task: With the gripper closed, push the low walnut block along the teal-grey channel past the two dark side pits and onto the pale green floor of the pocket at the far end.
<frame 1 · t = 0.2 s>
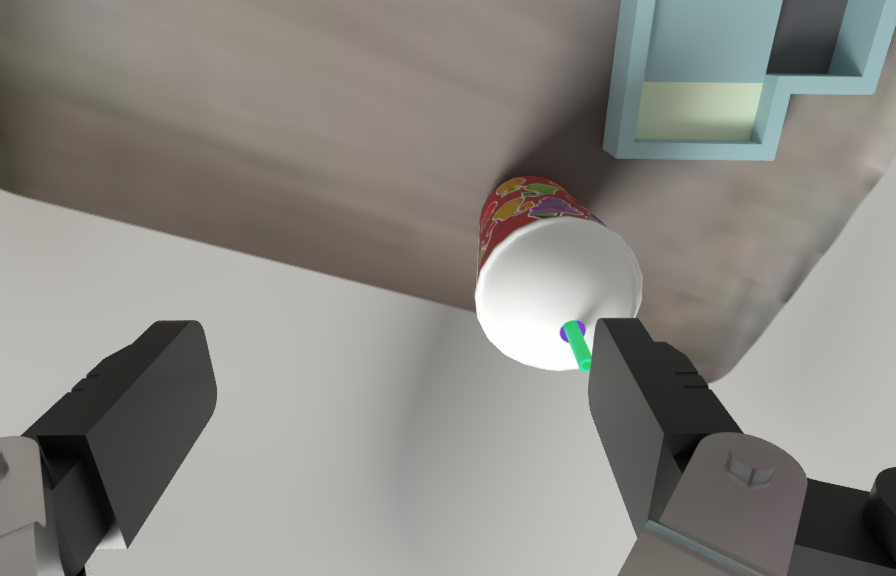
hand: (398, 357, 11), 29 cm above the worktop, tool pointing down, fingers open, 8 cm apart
smoothie: (524, 216, 40), on the worktop
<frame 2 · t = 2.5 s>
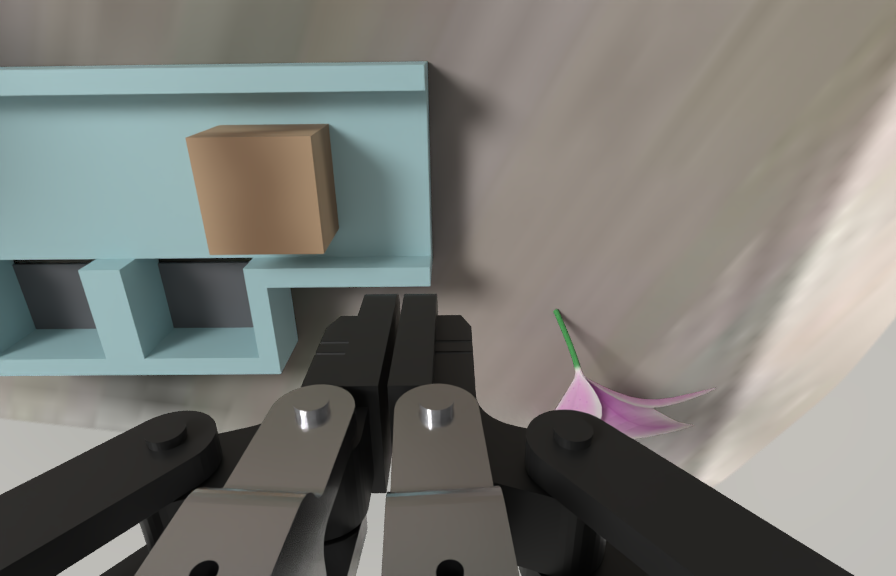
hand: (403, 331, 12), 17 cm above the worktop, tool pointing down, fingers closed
walnut block: (281, 178, 26), point 2 cm above the worktop, touching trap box
lily: (572, 367, 33), on the worktop
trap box: (155, 171, 28), on the worktop
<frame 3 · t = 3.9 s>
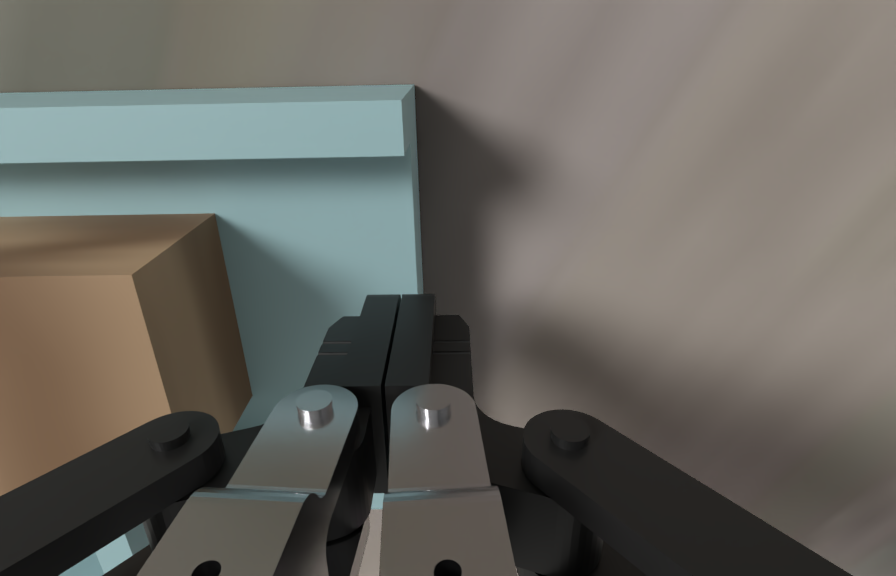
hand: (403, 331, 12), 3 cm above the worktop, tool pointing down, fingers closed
walnut block: (134, 312, 13), point 2 cm above the worktop, touching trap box
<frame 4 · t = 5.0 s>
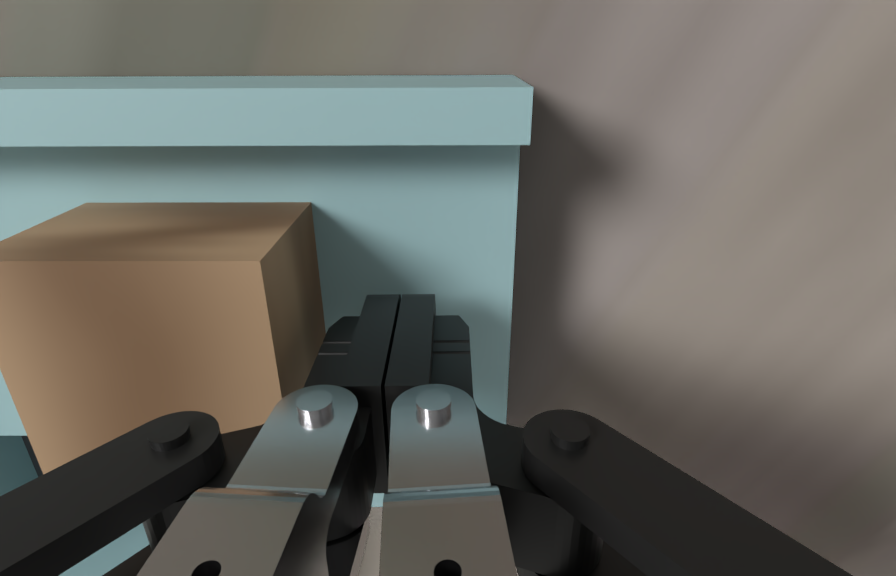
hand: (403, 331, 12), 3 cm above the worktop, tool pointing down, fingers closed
walnut block: (218, 303, 13), point 2 cm above the worktop, touching gripper, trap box
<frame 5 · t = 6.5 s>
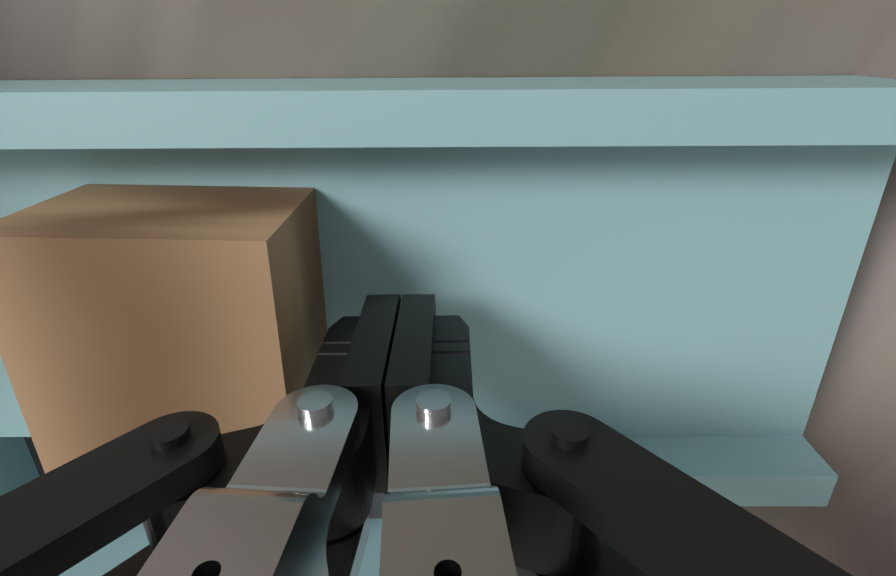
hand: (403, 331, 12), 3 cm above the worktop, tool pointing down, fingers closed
walnut block: (218, 289, 13), point 2 cm above the worktop, touching gripper
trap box: (288, 272, 15), on the worktop
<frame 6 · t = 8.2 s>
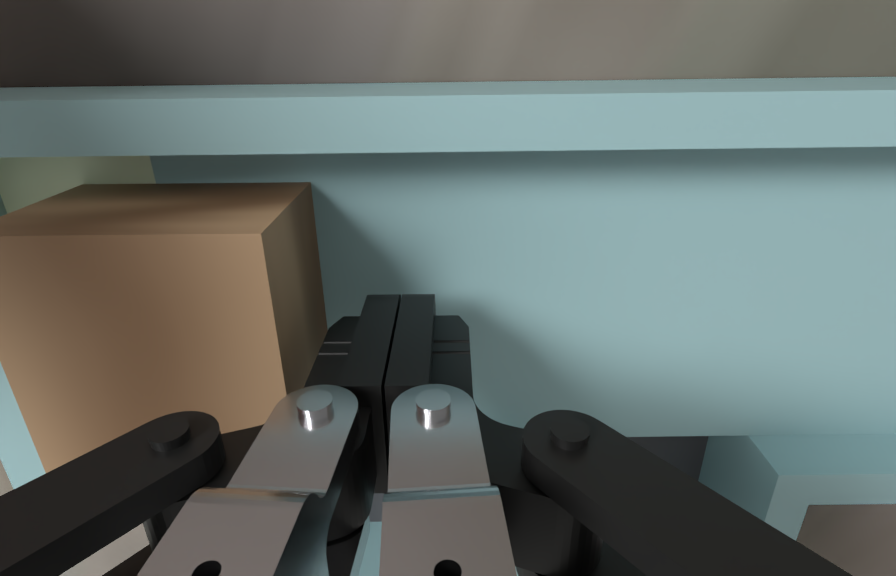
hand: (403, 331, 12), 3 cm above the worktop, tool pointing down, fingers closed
walnut block: (217, 287, 13), point 2 cm above the worktop, touching gripper, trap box
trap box: (561, 274, 15), on the worktop
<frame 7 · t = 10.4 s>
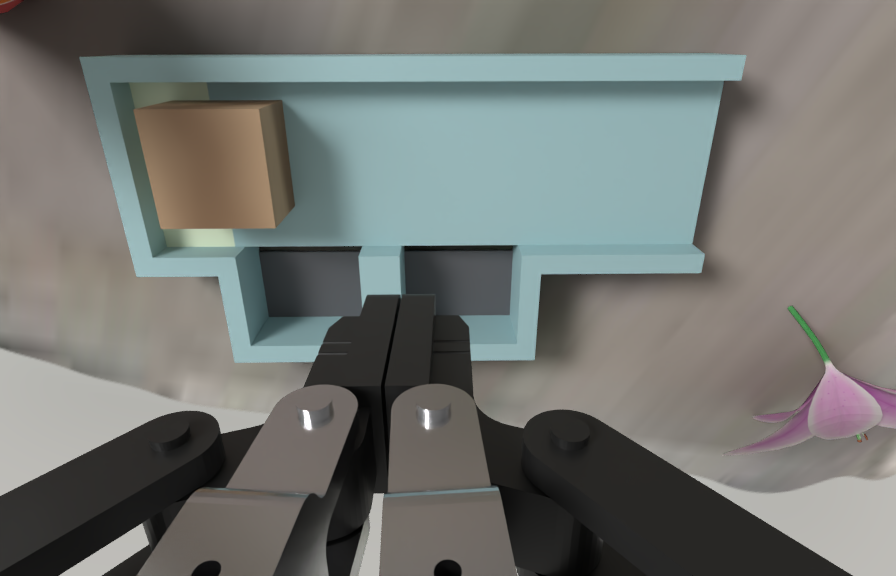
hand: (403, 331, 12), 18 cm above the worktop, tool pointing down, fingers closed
walnut block: (236, 155, 26), point 2 cm above the worktop, touching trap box
lily: (793, 361, 34), on the worktop
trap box: (420, 159, 28), on the worktop
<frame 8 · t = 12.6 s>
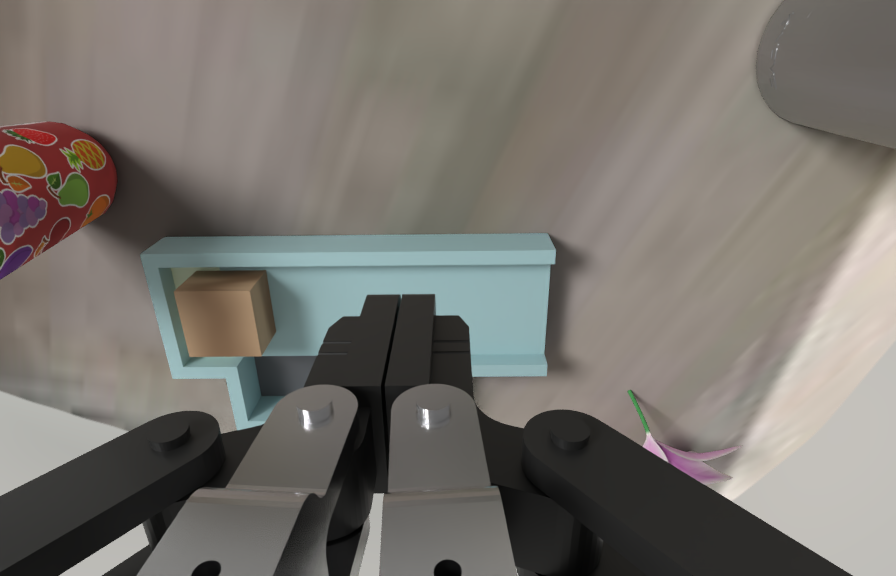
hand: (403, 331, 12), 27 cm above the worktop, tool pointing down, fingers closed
walnut block: (237, 302, 40), point 2 cm above the worktop, touching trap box
smoothie: (78, 168, 38), on the worktop
lily: (638, 426, 47), on the worktop
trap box: (360, 296, 42), on the worktop
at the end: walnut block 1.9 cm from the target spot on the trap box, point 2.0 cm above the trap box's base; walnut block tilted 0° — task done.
